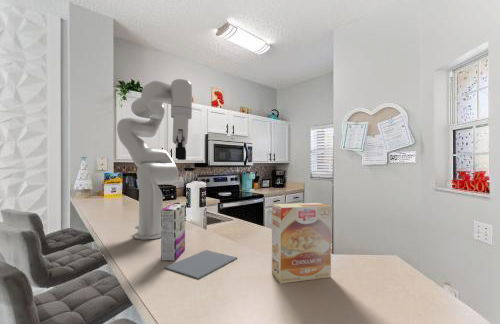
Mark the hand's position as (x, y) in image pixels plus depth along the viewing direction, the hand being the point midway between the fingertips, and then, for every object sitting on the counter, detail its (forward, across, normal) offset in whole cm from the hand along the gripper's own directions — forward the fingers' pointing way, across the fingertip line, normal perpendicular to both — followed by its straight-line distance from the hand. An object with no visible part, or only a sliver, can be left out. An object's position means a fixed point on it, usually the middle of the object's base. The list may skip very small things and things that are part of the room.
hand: (181, 159), depth 93 cm
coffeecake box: (+33, +31, +34) cm, 57 cm away
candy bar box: (+33, +8, -2) cm, 34 cm away
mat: (+33, +17, +8) cm, 38 cm away
